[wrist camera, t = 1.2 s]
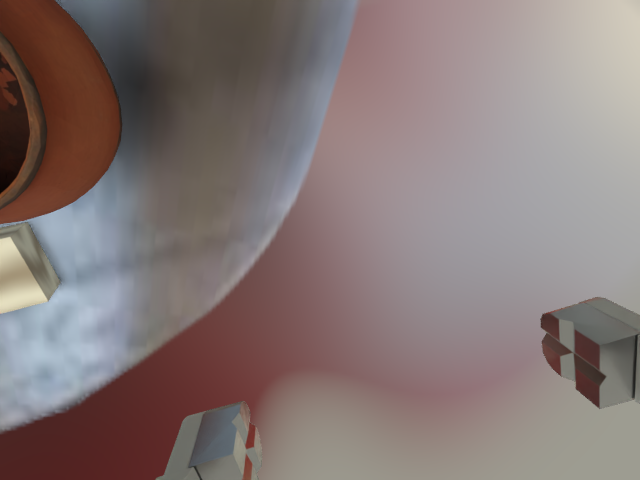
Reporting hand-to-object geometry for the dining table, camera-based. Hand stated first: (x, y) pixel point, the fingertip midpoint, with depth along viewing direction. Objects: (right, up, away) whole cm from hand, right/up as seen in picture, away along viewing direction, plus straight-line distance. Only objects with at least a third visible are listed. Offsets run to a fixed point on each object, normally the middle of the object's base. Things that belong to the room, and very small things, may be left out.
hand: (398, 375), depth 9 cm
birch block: (-42, +1, +34) cm, 54 cm away
